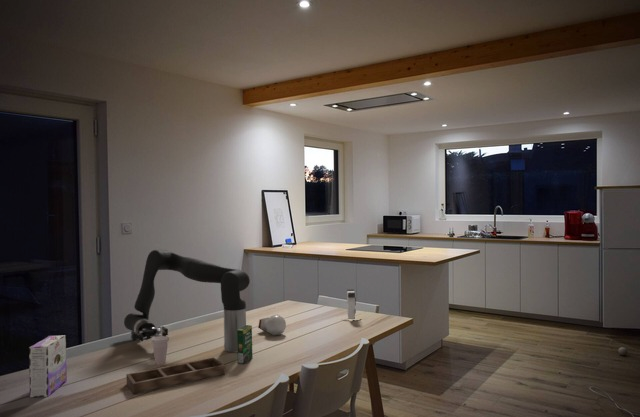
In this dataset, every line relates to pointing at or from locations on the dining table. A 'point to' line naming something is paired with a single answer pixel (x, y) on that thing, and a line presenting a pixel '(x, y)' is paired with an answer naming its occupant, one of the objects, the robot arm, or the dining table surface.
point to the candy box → (47, 365)
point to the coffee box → (244, 344)
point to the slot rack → (174, 375)
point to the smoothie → (160, 348)
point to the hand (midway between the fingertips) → (153, 337)
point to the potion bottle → (273, 324)
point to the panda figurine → (351, 303)
